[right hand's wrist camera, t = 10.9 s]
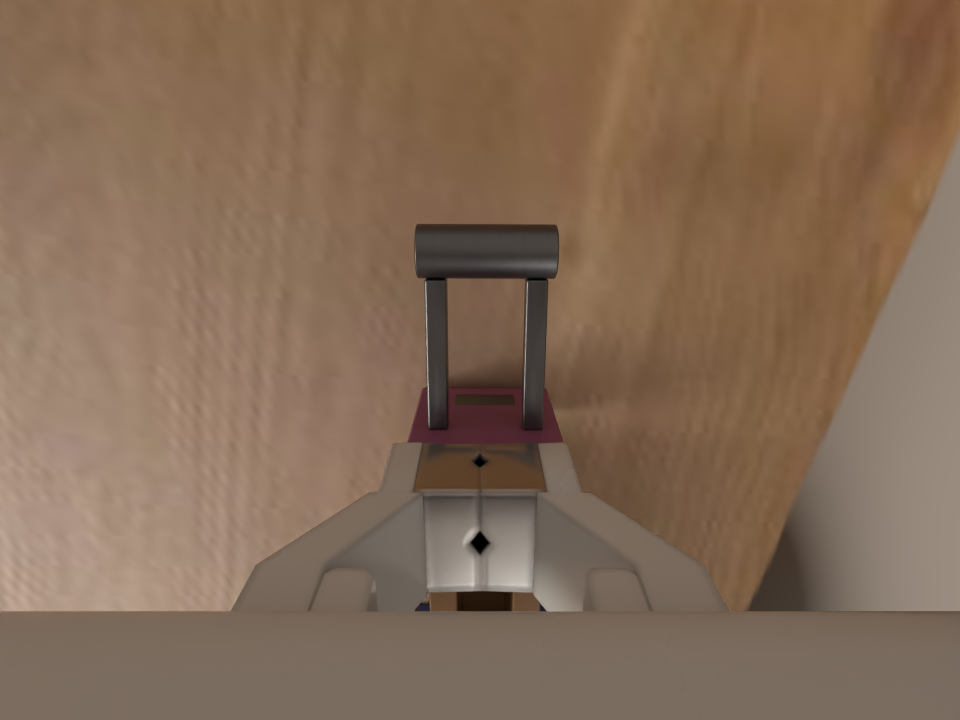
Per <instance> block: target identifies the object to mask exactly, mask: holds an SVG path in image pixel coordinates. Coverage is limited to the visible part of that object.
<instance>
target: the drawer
mask: <svg viewBox="0 0 960 720" xmlns="http://www.w3.org/2000/svg"><path fill="white" fill-rule="evenodd" d="M414 251H415V268H416V274H417V277H418V278H426V280H425V323H426V364H427V388H423V389H422V392H421V396H420V399H419V403H418V407H417V410H416V414H415V417H414V421H413V424H412V428H411V432H410V435H409V439H408V442H407V443H413V442H422V444H424V443H452V444H506V443H558V442H563V439H562V436H561V433H560V430H559V427H558V424H557V421H556V418H555V415H554V411H553V408H552V405H551V402H550V399H549V396H548V393H547V390H546V389H545V388H544V381H545V355H546V329H547V302H548V280H547V279H554V278H555V277H556V275H557V270H558V261H559V234H558V228H557V225H524V224H417V226H416V229H415V243H414ZM447 278H497V279H525V302H524V340H523V378H522V388H449V378H448V301H447ZM429 597H430V611H540V602H539V601H538V600H537V599H536V598H535V596H534V595H533V592H496V591H462V592H429Z"/></svg>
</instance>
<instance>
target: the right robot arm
mask: <svg viewBox="0 0 960 720" xmlns="http://www.w3.org/2000/svg"><path fill="white" fill-rule="evenodd" d="M462 591H496V592H533V595H534V596H535V598H536V599H537V600H538V601H539V602H540V604H541V605H542V606H543V607H544V608H545V610H546V611H414V610H415V609H416V608H417V607H418V605H419V604H420V603H421V602H422V600H423V599H424V598H425V597H426V596H427V592H462ZM0 720H960V611H729V610H728V608H727V606H726V604H725V603H724V601H723V599H722V597H721V595H720V593H719V591H718V589H717V588H716V586H715V584H714V582H713V580H712V578H711V576H710V574H709V573H708V571H707V569H706V567H705V566H704V565H703V564H701V563H699V562H698V561H696V560H695V559H693V558H692V557H690V556H689V555H687V554H685V553H684V552H682V551H681V550H679V549H678V548H676V547H675V546H673V545H671V544H670V543H668V542H667V541H665V540H664V539H662V538H661V537H659V536H657V535H656V534H654V533H653V532H651V531H650V530H648V529H647V528H645V527H643V526H642V525H640V524H639V523H637V522H636V521H634V520H633V519H631V518H629V517H628V516H626V515H625V514H623V513H622V512H620V511H619V510H617V509H615V508H614V507H612V506H611V505H609V504H608V503H606V502H605V501H603V500H601V499H600V498H598V497H597V496H595V495H594V494H592V493H591V492H582V490H581V487H580V483H579V480H578V477H577V473H576V470H575V467H574V463H573V460H572V457H571V453H570V450H569V447H568V444H567V443H565V442H558V443H506V444H452V443H424V444H422V442H413V443H394V444H393V445H392V446H391V449H390V453H389V456H388V460H387V463H386V466H385V470H384V473H383V476H382V480H381V483H380V487H379V490H378V492H369V493H368V494H366V495H365V496H363V497H362V498H360V499H359V500H357V501H355V502H354V503H352V504H351V505H349V506H348V507H346V508H344V509H343V510H341V511H340V512H338V513H337V514H335V515H334V516H332V517H330V518H329V519H327V520H326V521H324V522H323V523H321V524H319V525H318V526H316V527H315V528H313V529H312V530H310V531H308V532H307V533H305V534H304V535H302V536H301V537H299V538H298V539H296V540H294V541H293V542H291V543H290V544H288V545H287V546H285V547H283V548H282V549H280V550H279V551H277V552H276V553H274V554H273V555H271V556H269V557H268V558H266V559H265V560H263V561H262V562H260V563H258V564H257V565H256V566H255V568H254V569H253V571H252V573H251V575H250V577H249V579H248V580H247V582H246V584H245V586H244V588H243V590H242V592H241V593H240V595H239V597H238V599H237V601H236V603H235V605H234V606H233V608H232V610H231V611H0Z"/></svg>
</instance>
